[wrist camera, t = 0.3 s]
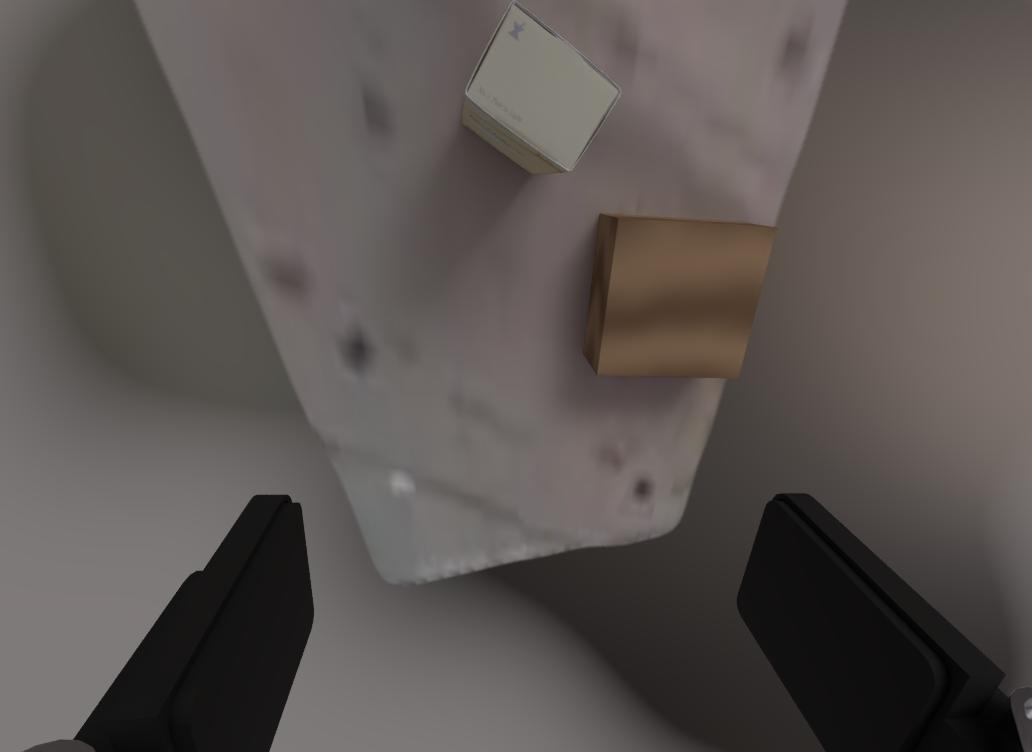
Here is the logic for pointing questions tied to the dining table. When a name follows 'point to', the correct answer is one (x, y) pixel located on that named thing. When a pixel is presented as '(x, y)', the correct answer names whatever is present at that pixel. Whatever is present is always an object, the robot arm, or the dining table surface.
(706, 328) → the light wood square block
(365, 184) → the dining table surface
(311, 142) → the dining table surface
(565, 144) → the skincare box
